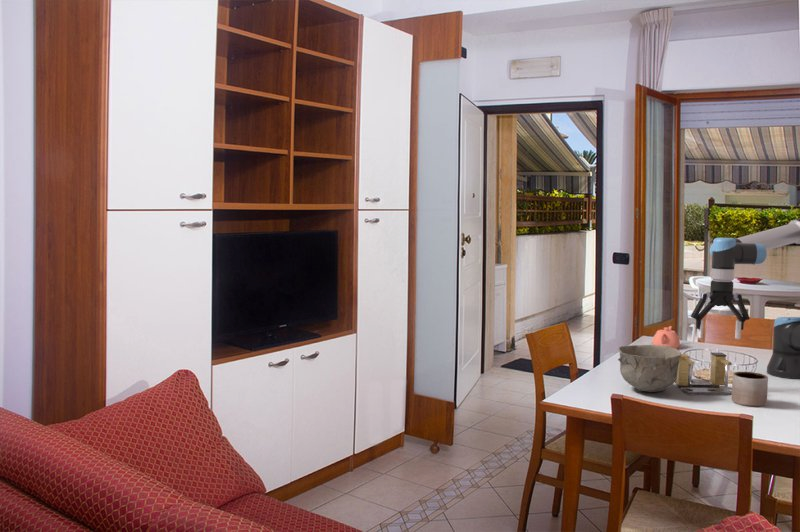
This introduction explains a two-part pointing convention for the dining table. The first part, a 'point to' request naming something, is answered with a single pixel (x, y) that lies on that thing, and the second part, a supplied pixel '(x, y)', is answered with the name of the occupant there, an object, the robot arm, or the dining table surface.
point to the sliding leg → (719, 369)
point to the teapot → (666, 338)
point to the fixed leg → (684, 371)
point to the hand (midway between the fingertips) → (718, 338)
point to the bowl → (649, 366)
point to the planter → (749, 389)
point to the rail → (699, 386)
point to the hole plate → (707, 391)
